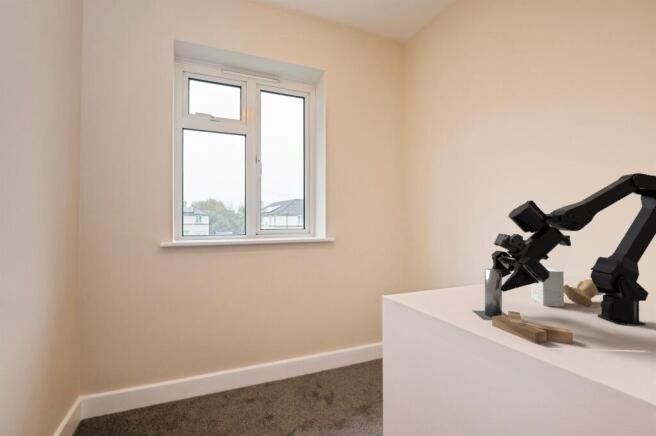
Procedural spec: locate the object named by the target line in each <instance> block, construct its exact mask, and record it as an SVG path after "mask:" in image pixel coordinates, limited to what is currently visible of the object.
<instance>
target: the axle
mask: <svg viewBox="0 0 656 436" xmlns="http://www.w3.org/2000/svg"><path fill="white" fill-rule="evenodd" d="M502 285H503V278H502V270H499V269H492V268H484V311H485V315H486V316H488V317H492V316H499V315H502V312H503V291H502V290H501V289H500V288H501V286H502Z"/></svg>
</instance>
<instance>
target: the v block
mask: <svg viewBox="0 0 656 436" xmlns="http://www.w3.org/2000/svg"><path fill="white" fill-rule="evenodd" d="M507 312H508V314H507V315H508V317H506V316H503V315H499V316H492V320H491V322H492V323H491V326H493V327H494V328H497V329H500V331H501V330H502V331H504V332H507V333H508V334H511V335H514V336H517V337H518V338H520V339H523V340H524V341H525V340H526V341H528V342H530V343H533V344H541V343H547V341H552V342H558V343H565V344H571V345H573V341H574V339H573V337H574V336H573V335H574V334H573V331H572V330H571V329H570V328H563V327H557V326H556V327H555V326H548V325H544V324H543V325H542V324H541V325H540V324H536V323H534V324H533V323H528V322H527V323H526V322H523V320H522V316H521V313H520V312H517V311H509V310H508V311H507Z"/></svg>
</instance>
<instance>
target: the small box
mask: <svg viewBox="0 0 656 436" xmlns="http://www.w3.org/2000/svg"><path fill="white" fill-rule="evenodd" d="M545 268H546V269H547V270H548V271H549V278H548V279H547V280H546V281H545V282H544V283H543V282H540V281H538V282H539V283H534V284H530V286H531V287H530V288H531V289H530V290H531V295H530V296H531V301H534V302H535V303H538V304H540V305H542V306H544V307H556V308H557V307H559V308H560V307H561V308H563V307H565V298H564V297H565V293H564V285H565V284H564V271H563V270H558V269H555V268H552V267H545Z"/></svg>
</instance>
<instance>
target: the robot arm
mask: <svg viewBox="0 0 656 436" xmlns="http://www.w3.org/2000/svg"><path fill="white" fill-rule="evenodd" d="M632 194H634V195H638V196H640V203H641V207H640V210H639V211H638V213H637V215H636V216H635V218H634V220H633V221H632V222H631V224H630V225H629V227H628V229H627V231H626V232H625V234H624V236H623V237H622V239H621V240H620V242H619V244H618V245H617V247H616V249H615V250H614V251H613V253H612V254H611V255H610V256H608V257H605V256H598V258H597V259H596V260H595V261H596V262H595V264H594V265H593V266H592V267H591V268H590V271H591V272H590V278H591V280H592V282H593V283H594V284H595V285H596V288H597V291H598V292H599V293H603V294H602V300H601V301H600V306H601V307H600V311H601V312H600V313H599V314H597V317H599V318H602V319H604V320H606V321H610V322H612V323H614V324H617V325H633V326H634V325H636V326H640V325H641V326H646V322H644V321H641V320H640V302H646V300H647V298H648V296H649V291H647V290H646V289H645V288H644V287H643V286H642V285H641V284H639V282H638V279H639V276H640V271H639V265H638V264H639V262H640V260H641V258H642V257H643V255H644V254H645V252H646V250H647V249H648V247H649V246H650V244H651V243H652V241H653V239H654V238H655V237H656V175H652V174H647V173H641V172H635V173H631V174H630V173H629V174H625V175H622V176H620V177H619V178H618V179H617V180H615V181H614V182H612V183H610V184H608V185H607V186H605V187H603V188H601V189H599V190H597V191H596V192H594V193H593V194H590V195H589V196H587V197H586V198H584V199H582V200H581V201H578V202H575V203H571V204H568V205H564V206H562V207H559V208H556V209H554V210H553V211H551V212H550V213H545V212H544V211H543V210H542V209H541V208H540V207H538V205H537V204H536V202H534V200H527V201H525V202H524V203H523V204H521V205H519V206H517V207H516V208H513V210H511V211H510V212H509V214H508V216H507V217H508V218H509V219H510V221H512V222H513V223H514V224H515V225H516V226H517V227H518V228H519V229H520V230H521V231H522V232H523V233H530V234H531V235H530V236H529V237H528V238H527V239H524V235H521V234H519V233H512V234H511V235H510V234H507V233H506V234H505V233H498V234H497V236H496V238H495V241H494V242H493V245H495V246H498V247H501V248H502V249H504V250H507V251H504V250H495V251H494V252H493V253H492V254H491V260H492V264H493V265H492V267H491V269H499V270H502V279H503V278H505V277H507V276H508V278H507V279H506V280H505V282H504V283H502V286H501V288H500V289H501V290H502V293H504V292H508V291H511V290H515V289H517V288H521V287H525V286H529V285H530V286H531V284H534V283H539V282H538V281H540V282H543V283H544V282H545V281H546V280H547V279H548V278H549V271H548V270H547V269H546V268H547V267H545V266H544V265H543V264H542V263H541V261H542V260H545V261H547V260H548V259H549V258H550V256H549V254H550V252H551V251H553V250H554V249H555V248H556V247H557V246H558V245H560V246H564V247H565V246H566V247H571V246H572V242H571V236H570V235H565V234H564V233H563V232H564V231H565V232H578V231H580V230H583V229H584V228H585V227H586V226H588V225H589V224H590V223H591V222H592V221H593V220H594V218H595V216H596V215H597V214H598V213H601V212H602V211H603V210H606V209H607V208H609V207H610V206H612V205H614V204H615V203H618V202H619V201H621V200H622V199H625V198H626V197H627V196H630V195H632ZM509 275H510V276H509Z"/></svg>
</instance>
